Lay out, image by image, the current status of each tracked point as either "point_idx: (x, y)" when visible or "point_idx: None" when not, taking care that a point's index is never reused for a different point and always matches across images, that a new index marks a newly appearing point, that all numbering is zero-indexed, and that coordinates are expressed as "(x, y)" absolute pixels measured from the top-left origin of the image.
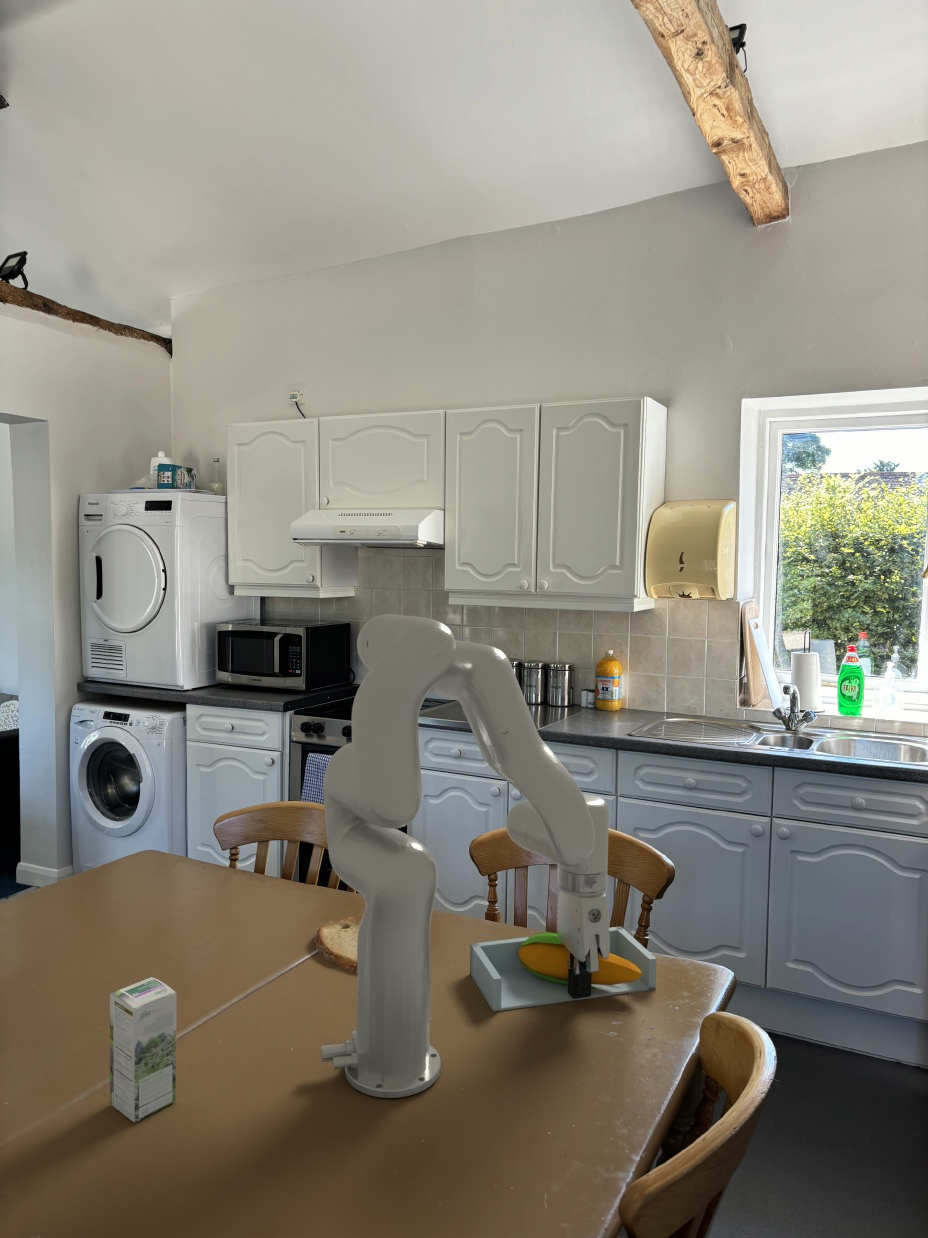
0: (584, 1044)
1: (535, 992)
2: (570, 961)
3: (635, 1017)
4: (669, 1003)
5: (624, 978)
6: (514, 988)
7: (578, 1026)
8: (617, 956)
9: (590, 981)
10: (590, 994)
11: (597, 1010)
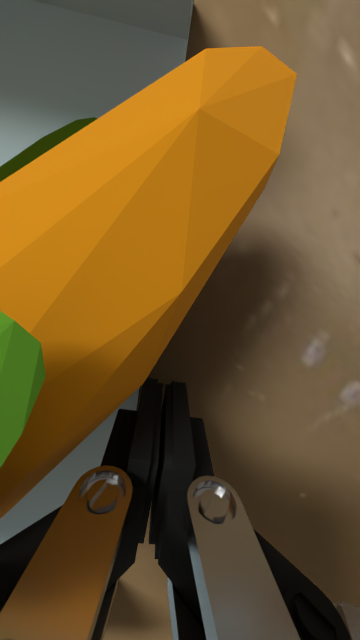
0: (345, 479)
1: (59, 489)
2: (108, 615)
3: (326, 271)
4: (329, 40)
5: (238, 228)
6: (16, 527)
7: (269, 454)
8: (113, 184)
9: (190, 425)
10: (184, 385)
11: (223, 363)
